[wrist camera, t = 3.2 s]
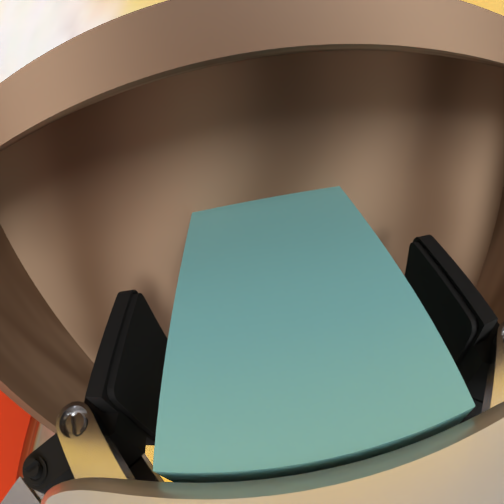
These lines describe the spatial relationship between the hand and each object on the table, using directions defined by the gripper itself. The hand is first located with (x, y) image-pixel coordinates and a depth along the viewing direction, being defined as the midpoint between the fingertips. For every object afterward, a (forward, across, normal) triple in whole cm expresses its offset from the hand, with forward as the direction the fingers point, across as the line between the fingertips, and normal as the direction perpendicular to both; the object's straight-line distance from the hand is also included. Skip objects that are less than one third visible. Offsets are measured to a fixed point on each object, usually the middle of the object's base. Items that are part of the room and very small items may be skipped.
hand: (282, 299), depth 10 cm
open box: (+3, 0, 0) cm, 3 cm away
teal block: (+2, 0, 0) cm, 2 cm away
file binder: (+3, +23, +3) cm, 23 cm away
